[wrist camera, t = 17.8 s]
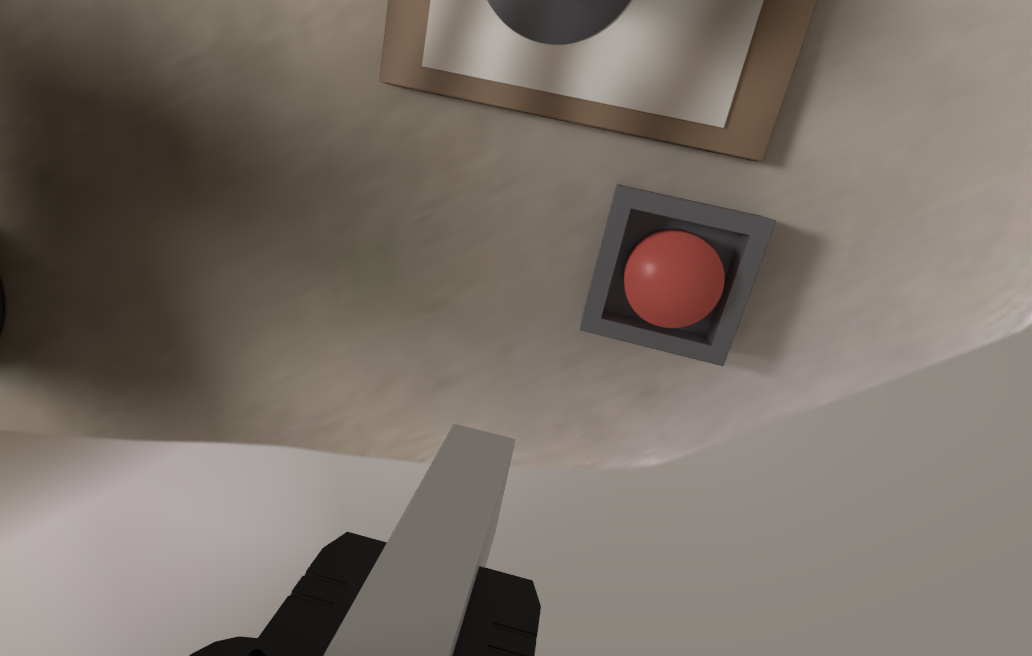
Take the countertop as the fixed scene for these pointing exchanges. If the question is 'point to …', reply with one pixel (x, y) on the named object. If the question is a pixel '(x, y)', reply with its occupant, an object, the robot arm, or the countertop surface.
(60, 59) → the countertop surface
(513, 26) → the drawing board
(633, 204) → the button housing
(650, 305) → the button
